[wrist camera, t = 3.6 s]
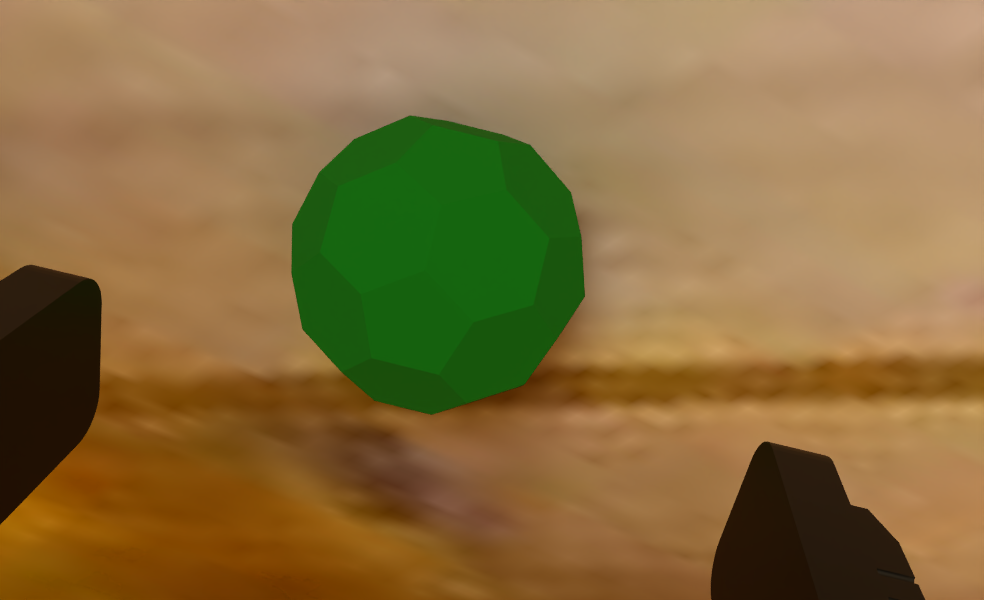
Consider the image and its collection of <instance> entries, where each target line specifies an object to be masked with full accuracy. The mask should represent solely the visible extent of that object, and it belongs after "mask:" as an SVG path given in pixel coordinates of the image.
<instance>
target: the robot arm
mask: <svg viewBox="0 0 984 600" xmlns="http://www.w3.org/2000/svg"><path fill="white" fill-rule="evenodd" d="M101 308H102V299H101V291H100V288H99V286H98V284H97V283H96V282H95V281H94V280H92V279H89V278H85V277H81V276H77V275H73V274H68V273H64V272H60V271H56V270H52V269H47V268H43V267H39V266H35V265H27V266H24V267H22V268H20V269H19V270H17V271H15V272H14V273H12V274H11V275H9V276H7V277H6V278H4V279H3V280H1V281H0V524H1V523H2V522H3V521H4V520H5V519H6V518H7V517H8V516H9V515H10V514H11V513H12V512H13V511H14V510H15V509H16V508H17V507H18V506H19V505H20V504H21V503H22V502H23V501H24V500H25V499H26V498H27V496H28V495H29V494H30V493H31V492H32V491H33V490H34V489H35V488H36V487H37V486H38V485H39V484H40V483H41V482H42V481H43V480H44V479H45V478H46V477H47V476H48V475H49V474H50V473H51V472H52V471H53V470H54V469H55V468H56V467H57V465H58V464H59V463H60V462H61V461H62V460H63V459H64V458H65V457H66V456H67V455H68V454H69V453H70V452H71V451H72V450H73V449H74V448H75V447H76V446H77V445H78V444H79V443H80V441H81V440H82V439H83V437H84V436H85V434H86V433H87V431H88V429H89V427H90V425H91V423H92V420H93V418H94V415H95V412H96V409H97V404H98V399H99V390H100V349H101ZM914 579H915V577H914V574H913V572H912V570H911V568H910V566H909V563H908V561H907V559H906V557H905V555H904V553H903V550H902V548H901V546H900V544H899V542H898V541H897V540H896V539H895V538H894V537H893V536H892V535H891V534H890V533H889V532H888V530H887V529H886V528H885V527H884V526H883V525H882V524H881V523H880V522H879V521H878V520H877V519H876V518H875V516H874V515H873V514H872V513H871V512H870V511H869V510H868V509H865V508H861V507H857V506H853V505H851V504H850V502H849V500H848V497H847V495H846V492H845V490H844V487H843V485H842V482H841V480H840V477H839V475H838V473H837V470H836V468H835V465H834V463H833V461H832V459H831V458H830V457H828V456H825V455H821V454H817V453H813V452H808V451H804V450H800V449H796V448H792V447H787V446H783V445H779V444H775V443H771V442H763V443H762V444H761V445H760V446H759V447H758V448H757V450H756V451H755V453H754V455H753V458H752V460H751V462H750V465H749V467H748V470H747V472H746V475H745V477H744V480H743V483H742V485H741V488H740V490H739V493H738V495H737V498H736V500H735V503H734V505H733V508H732V510H731V513H730V515H729V518H728V521H727V523H726V526H725V528H724V531H723V533H722V536H721V538H720V541H719V544H718V546H717V550H716V553H715V558H714V562H713V568H712V576H711V599H712V600H925V598H924V596H923V594H922V592H921V590H920V587H919V585H918V584H914Z"/></svg>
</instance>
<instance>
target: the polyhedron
mask: <svg viewBox="0 0 984 600" xmlns="http://www.w3.org/2000/svg"><path fill="white" fill-rule="evenodd" d="M292 278H293V283H294V288H295V293H296V298H297V304H298V309H299V314H300V319H301V324H302V329H303V330H304V331H305V332H306V334H307V335H308V336H309V337H310V338H311V339H312V340H313V341H314V342H315V343H316V344H317V346H318V347H319V348H320V349H321V350H322V351H323V352H324V353H325V354H326V355H327V357H328V358H329V359H330V360H331V361H332V362H333V363H334V364H335V365H336V366H337V367H338V369H339V370H340V371H341V372H342V373H343V374H344V375H346V376H347V377H348V378H349V379H350V380H351V381H352V382H354V383H355V384H356V385H357V386H358V387H359V388H361V389H362V390H363V391H364V392H365V393H366V394H367V395H369V396H370V397H371V398H372V399H373V400H374V401H378V402H382V403H386V404H390V405H394V406H398V407H403V408H407V409H411V410H415V411H419V412H423V413H427V414H431V415H432V414H435V413H439V412H442V411H445V410H448V409H451V408H455V407H458V406H461V405H464V404H467V403H470V402H473V401H477V400H480V399H483V398H486V397H489V396H492V395H495V394H498V393H501V392H504V391H507V390H511V389H514V388H517V387H520V386H522V385H524V384H525V383H526V382H527V380H528V379H529V377H530V376H531V375H532V373H533V372H534V370H535V369H536V368H537V366H538V365H539V363H540V362H541V361H542V359H543V358H544V356H545V355H546V354H547V352H548V351H549V349H550V348H551V347H552V345H553V344H554V342H555V341H556V340H557V338H558V337H559V335H560V334H561V332H562V330H563V329H564V327H565V326H566V324H567V323H568V321H569V320H570V318H571V317H572V315H573V314H574V312H575V311H576V309H577V308H578V306H579V305H580V303H581V302H582V300H583V298H584V297H585V290H584V273H583V257H582V240H581V233H580V229H579V225H578V221H577V216H576V212H575V208H574V204H573V199H572V195H571V192H570V191H569V190H568V188H567V187H566V186H565V185H564V184H563V183H562V181H561V180H560V179H559V178H558V177H557V176H556V174H555V173H554V172H553V171H552V170H551V169H550V167H549V166H548V165H547V164H546V163H545V162H544V160H543V159H542V158H541V157H540V156H539V155H538V154H537V152H536V151H535V150H534V149H533V148H532V147H531V145H529V144H526V143H523V142H521V141H518V140H515V139H513V138H510V137H508V136H505V135H502V134H498V133H494V132H490V131H486V130H482V129H478V128H474V127H470V126H466V125H462V124H458V123H454V122H449V121H444V120H437V119H430V118H423V117H417V116H408V117H406V118H403V119H401V120H398V121H396V122H394V123H391V124H389V125H387V126H384V127H382V128H380V129H377V130H375V131H372V132H370V133H368V134H365V135H363V136H361V137H358V138H356V139H354V140H353V141H352V142H351V143H350V144H349V145H348V146H347V147H346V148H345V149H344V150H342V151H341V152H340V153H339V154H338V155H337V156H336V157H335V158H334V159H333V160H332V161H331V162H330V163H329V164H328V165H327V166H325V167H324V168H323V169H322V170H321V171H320V172H319V174H318V176H317V178H316V180H315V182H314V184H313V185H312V187H311V189H310V191H309V193H308V195H307V197H306V199H305V201H304V203H303V205H302V207H301V209H300V210H299V212H298V214H297V216H296V218H295V220H294V222H293V224H292Z"/></svg>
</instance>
